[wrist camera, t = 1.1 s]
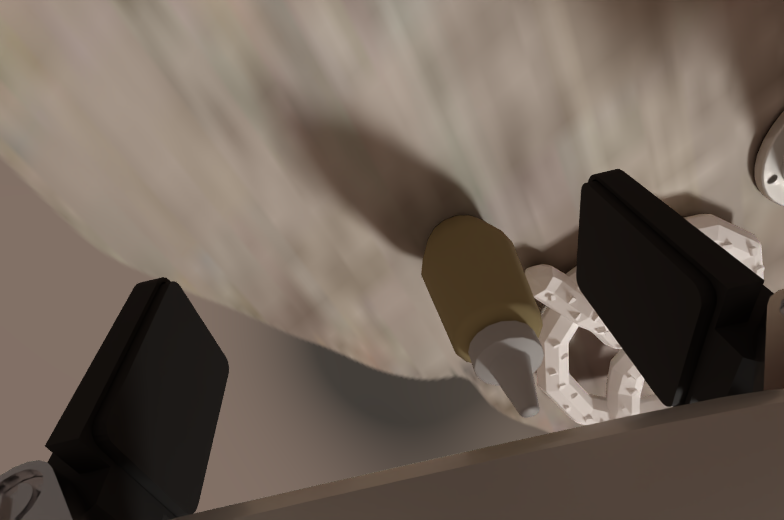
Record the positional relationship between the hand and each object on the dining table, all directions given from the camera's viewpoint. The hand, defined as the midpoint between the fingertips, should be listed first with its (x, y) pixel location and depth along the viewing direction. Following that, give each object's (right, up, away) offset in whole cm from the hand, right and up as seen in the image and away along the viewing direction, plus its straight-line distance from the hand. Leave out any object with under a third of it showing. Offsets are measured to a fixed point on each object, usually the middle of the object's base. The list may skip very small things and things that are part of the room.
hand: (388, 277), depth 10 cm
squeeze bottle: (+6, +2, +30) cm, 31 cm away
